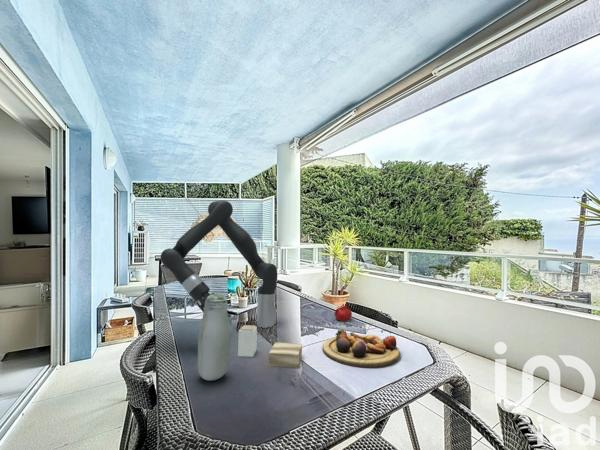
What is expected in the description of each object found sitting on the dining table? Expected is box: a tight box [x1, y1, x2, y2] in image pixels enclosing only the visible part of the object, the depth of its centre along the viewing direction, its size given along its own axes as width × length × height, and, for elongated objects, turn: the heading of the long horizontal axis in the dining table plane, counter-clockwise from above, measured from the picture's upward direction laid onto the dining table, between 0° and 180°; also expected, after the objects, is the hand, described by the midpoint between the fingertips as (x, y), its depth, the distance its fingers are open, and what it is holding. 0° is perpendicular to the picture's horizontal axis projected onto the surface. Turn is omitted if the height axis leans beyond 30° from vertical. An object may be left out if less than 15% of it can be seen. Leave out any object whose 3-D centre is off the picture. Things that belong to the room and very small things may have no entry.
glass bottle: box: [197, 293, 232, 382], centre depth 98 cm, size 10×10×28 cm
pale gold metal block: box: [268, 341, 303, 369], centre depth 113 cm, size 11×11×5 cm
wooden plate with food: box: [322, 328, 401, 368], centre depth 124 cm, size 32×32×8 cm
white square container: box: [237, 324, 258, 358], centre depth 119 cm, size 6×6×10 cm
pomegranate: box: [334, 303, 353, 322], centre depth 170 cm, size 10×10×9 cm
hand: (221, 316), depth 120 cm, fingers open, 8 cm apart
